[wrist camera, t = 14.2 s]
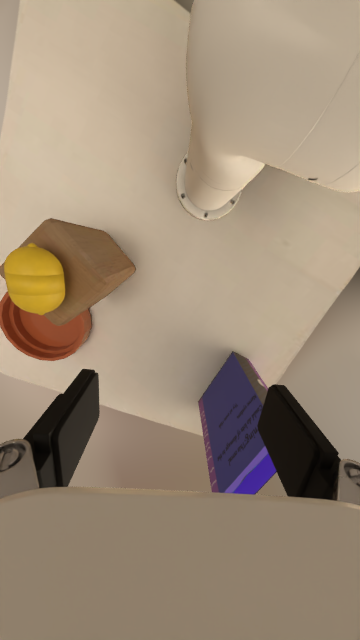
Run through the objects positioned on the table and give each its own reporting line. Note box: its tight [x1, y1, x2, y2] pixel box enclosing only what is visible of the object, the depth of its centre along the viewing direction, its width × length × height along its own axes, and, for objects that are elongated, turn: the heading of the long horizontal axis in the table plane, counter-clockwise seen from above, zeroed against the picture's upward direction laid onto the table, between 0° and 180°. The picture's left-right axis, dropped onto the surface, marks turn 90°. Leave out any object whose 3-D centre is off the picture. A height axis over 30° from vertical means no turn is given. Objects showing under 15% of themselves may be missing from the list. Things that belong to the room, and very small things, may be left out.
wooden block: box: [0, 218, 136, 326], centre depth 34 cm, size 10×10×20 cm
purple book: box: [198, 352, 277, 495], centre depth 43 cm, size 17×5×24 cm, turn 152°
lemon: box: [4, 243, 65, 315], centre depth 22 cm, size 8×5×5 cm
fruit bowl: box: [0, 292, 91, 361], centre depth 45 cm, size 17×17×4 cm
